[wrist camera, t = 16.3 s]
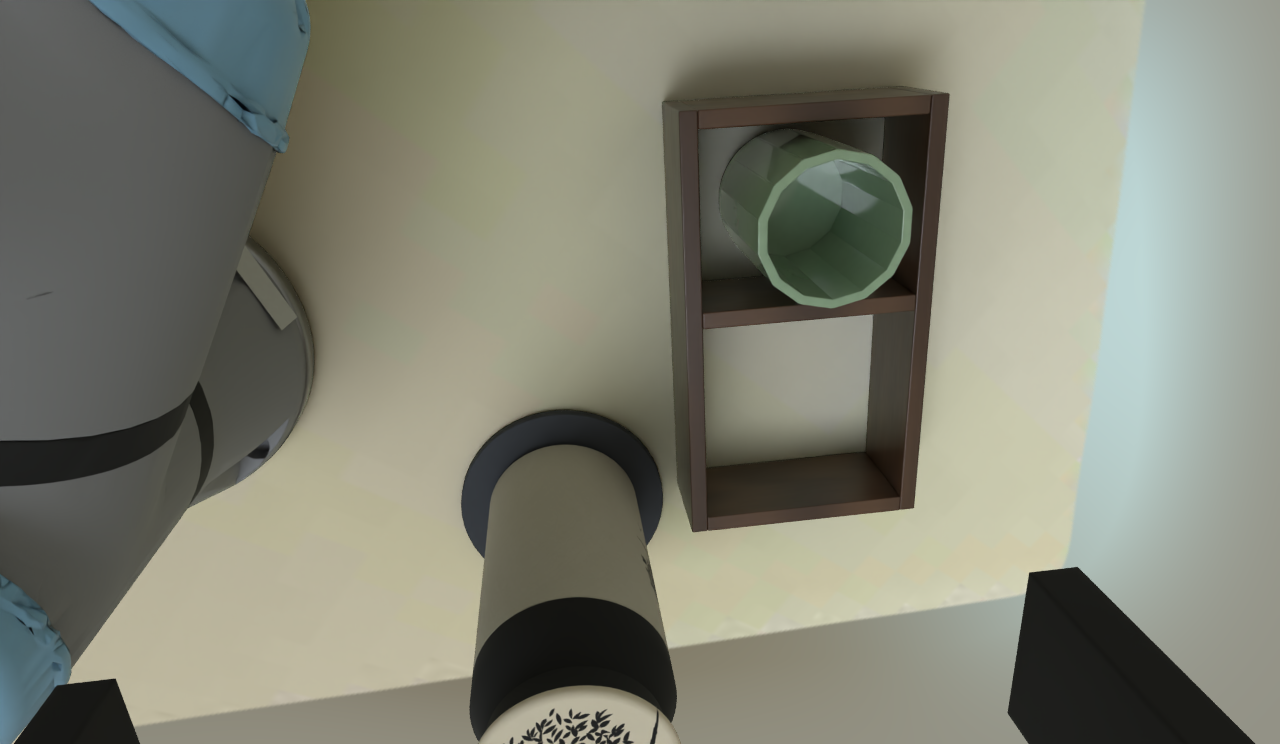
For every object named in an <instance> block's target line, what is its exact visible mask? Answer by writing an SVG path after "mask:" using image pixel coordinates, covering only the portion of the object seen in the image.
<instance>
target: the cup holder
mask: <svg viewBox="0 0 1280 744" xmlns="http://www.w3.org/2000/svg"><path fill="white" fill-rule="evenodd" d="M948 106H949V93H944V92H937V91H931V90H924V89H917V88H911V87H904V86H896V87H880V88H865V89H850V90H834V91H819V92H803V93H788V94H772V95H757V96H741V97H726V98H710V99H695V100H681V101H664V102H662V114H663V139H664V164H665V189H666V213H667V238H668V263H669V288H670V313H671V337H672V362H673V387H674V412H675V437H676V462H677V483H678V487H679V490H680V493H681V496H682V500H683V503H684V506H685V509H686V513H687V516H688V519H689V522H690V525H691V529H692V532H700V531H707V530H708V531H710V530H720V529H729V528H738V527H747V526H756V525H765V524H775V523H784V522H793V521H802V520H811V519H821V518H830V517H839V516H848V515H857V514H866V513H876V512H885V511H894V510H899V509H900V510H901V509H911V508H914V501H915V490H916V478H917V467H918V455H919V443H920V432H921V420H922V409H923V397H924V385H925V374H926V362H927V350H928V339H929V327H930V316H931V304H932V292H933V281H934V269H935V257H936V246H937V234H938V223H939V211H940V199H941V188H942V176H943V165H944V153H945V141H946V130H947V118H948ZM877 117H885V131H884V148H883V163H884V164H886V165H887V166H888V167H889V168H890V169H892V170H893V171H894V172H895V173H897V174H898V175H899V176H900V178H901V180H902V183H903V185H904V188H905V190H906V192H907V195H908V197H909V200H910V202H911V205H912V209H913V211H912V224H911V238H910V244H909V246H908V248H907V250H906V252H905V254H904V256H903V258H902V260H901V262H900V263H899V265H898V267H897V269H896V271H895V273H894V275H893V276H892V277H891V278H889V279H888V280H887V281H886V282H885V283H883V284H882V285H881V286H880V287H879V288H877V289H876V290H875V291H874V292H873V293H871V294H870V295H869V296H868V297H867V298H865V299H862V300H859V301H855V302H852V303H849V304H846V305H842V306H839V307H836V308H824V307H817V306H810V305H802V304H799V303H797V302H796V301H794V300H793V299H791V298H790V297H789V296H787V295H786V294H784V293H783V292H782V291H780V290H779V289H777V288H776V287H774V286H773V285H772V284H771V282H770V281H769V280H768V279H767V278H766V277H765V276H759V277H747V278H735V279H723V280H711V281H702V275H701V235H700V195H699V154H698V129H715V128H730V127H745V126H759V125H774V124H789V123H804V122H818V121H833V120H848V119H863V118H877ZM870 314H874V319H873V336H872V353H871V370H870V387H869V405H868V422H867V439H866V452H859V453H849V454H839V455H829V456H820V457H810V458H800V459H790V460H781V461H771V462H761V463H751V464H742V465H732V466H722V467H712V468H706V437H705V396H704V356H703V329H712V328H723V327H734V326H746V325H757V324H768V323H780V322H791V321H802V320H814V319H825V318H836V317H848V316H859V315H870Z"/></svg>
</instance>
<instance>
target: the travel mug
mask: <svg viewBox="0 0 1280 744" xmlns="http://www.w3.org/2000/svg"><path fill="white" fill-rule="evenodd" d="M676 702H677V692H676V685H675V680H674V675H673V670H672V666H671V661H670V656H669V651H668V646H667V642H666V637H665V632H664V627H663V622H662V618H661V613H660V608H659V603H658V599H657V594H656V589H655V584H654V580H653V575H652V570H651V565H650V561H649V556H648V551H647V546H646V542H645V537H644V532H643V527H642V523H641V518H640V513H639V508H638V504H637V499H636V494H635V490H634V487H633V485H632V483H631V480H630V479H629V477H628V475H627V474H626V473H625V471H624V470H623V469H622V468H621V467H620V466H619V465H618V464H617V463H616V462H615V461H614V460H612V459H611V458H610V457H608V456H606V455H605V454H603V453H601V452H599V451H596V450H594V449H591V448H587V447H583V446H577V445H554V446H548V447H544V448H541V449H537V450H535V451H532V452H530V453H528V454H526V455H524V456H523V457H521V458H519V459H518V460H517V461H515V462H514V463H513V464H512V465H511V466H509V467H508V468H507V469H506V471H505V472H504V473H503V474H502V476H501V477H500V478H499V480H498V482H497V483H496V485H495V488H494V490H493V493H492V496H491V501H490V509H489V519H488V529H487V539H486V549H485V559H484V569H483V578H482V588H481V598H480V608H479V618H478V628H477V638H476V648H475V657H474V667H473V677H472V687H471V697H470V719H471V724H472V728H473V731H474V733H475V735H476V738H477V740H478V741H479V743H478V744H681V742H680V739H679V737H678V735H677V732H676V730H675V729H674V727H673V725H672V724H671V722H672V720H673V717H674V714H675V709H676Z"/></svg>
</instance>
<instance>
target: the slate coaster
mask: <svg viewBox="0 0 1280 744" xmlns="http://www.w3.org/2000/svg"><path fill="white" fill-rule="evenodd" d="M554 445H577V446H583V447H587V448H591V449H594V450H596V451H599V452H601V453H603V454H605V455H606V456H608V457H610V458H611V459H612V460H614V461H615V462H616V463H617V464H618V465H619V466H620V467H621V468H622V469H623V470H624V471H625V473H626V474H627V475H628V477H629V479H630V480H631V483H632V485H633V487H634V490H635V494H636V499H637V504H638V508H639V513H640V518H641V523H642V527H643V532H644V537H645V542H646V546H647V545H648V543H649V542H650V540H651V539H652V537H653V535H654V533H655V531H656V529H657V526H658V523H659V520H660V517H661V511H662V505H663V492H662V484H661V480H660V476H659V473H658V469H657V467H656V464H655V462H654V460H653V458H652V456H651V455H650V453H649V452H648V450H647V448H646V447H645V446H644V445H643V444H642V443H641V441H640V440H639V439H638V438H637V437H636V436H634V435H633V434H632V433H631V432H630V431H629V430H627V429H625V428H624V427H622V426H621V425H619V424H618V423H616V422H614V421H612V420H609V419H607V418H605V417H602V416H599V415H596V414H592V413H587V412H582V411H572V410H559V411H549V412H542V413H538V414H534V415H531V416H527V417H525V418H523V419H520V420H518V421H515V422H513V423H512V424H510V425H508V426H506V427H505V428H503V429H502V430H500V431H499V432H498V433H496V434H495V435H494V436H492V437H491V438H490V439H489V440H488V441H487V442H486V443H485V444H484V445H483V447H482V448H481V449H480V450H479V452H478V453H477V454H476V456H475V457H474V459H473V461H472V463H471V464H470V466H469V469H468V471H467V474H466V477H465V481H464V485H463V490H462V500H461V508H462V517H463V521H464V526H465V528H466V531H467V533H468V536H469V538H470V540H471V541H472V543H473V545H474V547H475V548H476V549H477V551H478V552H479V553H480V554H481V556H482V557H483V558H484V559H485V549H486V539H487V529H488V519H489V509H490V501H491V496H492V493H493V490H494V488H495V485H496V483H497V482H498V480H499V478H500V477H501V476H502V474H503V473H504V472H505V471H506V469H507V468H508V467H509V466H511V465H512V464H513V463H514V462H515V461H517V460H518V459H519V458H521V457H523V456H524V455H526V454H528V453H530V452H532V451H535V450H537V449H541V448H544V447H548V446H554Z"/></svg>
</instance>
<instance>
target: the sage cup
mask: <svg viewBox="0 0 1280 744" xmlns="http://www.w3.org/2000/svg"><path fill="white" fill-rule="evenodd" d="M719 210H720V214H721V218H722V221H723V224H724V226H725V228H726V230H727V232H728V234H729V235H730V236H731V238H732V240H733V242H734V243H735V245H736V246H737V247H738V248H739V249H740V250H741V251H742V252H743V253H744V254H745V255H746V256H747V258H748V259H749V260H750V261H751V262H752V263H753V264H754V265H755V266H756V267H757V268H758V269H759V271H760V272H761V273H762V274H763V275H764V276H765V277H766V278H767V279H768V280H769V281H770V282H771V284H772V285H773V286H774V287H776V288H777V289H779V290H780V291H782V292H783V293H784V294H786V295H787V296H789V297H790V298H791V299H793V300H794V301H796V302H797V303H799V304H802V305H810V306H817V307H824V308H836V307H839V306H842V305H846V304H849V303H852V302H855V301H859V300H862V299H865V298H867V297H868V296H869V295H870V294H871V293H873V292H874V291H875V290H876V289H877V288H879V287H880V286H881V285H882V284H883V283H885V282H886V281H887V280H888V279H889V278H891V277H892V276H893V275H894V273H895V271H896V269H897V267H898V265H899V263H900V262H901V260H902V258H903V256H904V254H905V252H906V250H907V248H908V246H909V244H910V238H911V224H912V211H913V209H912V205H911V202H910V200H909V197H908V195H907V192H906V190H905V188H904V185H903V183H902V180H901V178H900V176H899V175H898V174H897V173H895V172H894V171H893V170H892V169H890V168H889V167H888V166H887V165H886V164H884V163H883V162H882V161H881V160H879V159H878V158H877V157H876V156H874V155H872V154H870V153H867V152H864V151H862V150H859V149H856V148H854V147H851V146H848V145H845V144H843V143H840V142H837V141H835V140H832V139H829V138H827V137H824V136H821V135H818V134H816V133H811V132H805V131H802V130H797V129H779V130H773V131H770V132H766V133H764V134H762V135H759V136H757V137H756V138H754V139H752V140H751V141H749V142H748V143H747V144H745V145H744V146H743V147H742V148H741V149H740V150H739V151H738V152H737V153H736V154H735V156H734V157H733V158H732V160H731V161H730V163H729V164H728V166H727V168H726V170H725V172H724V175H723V178H722V181H721V185H720V190H719Z"/></svg>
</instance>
